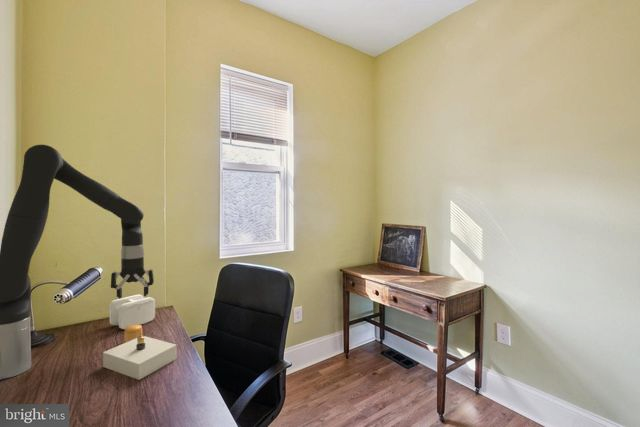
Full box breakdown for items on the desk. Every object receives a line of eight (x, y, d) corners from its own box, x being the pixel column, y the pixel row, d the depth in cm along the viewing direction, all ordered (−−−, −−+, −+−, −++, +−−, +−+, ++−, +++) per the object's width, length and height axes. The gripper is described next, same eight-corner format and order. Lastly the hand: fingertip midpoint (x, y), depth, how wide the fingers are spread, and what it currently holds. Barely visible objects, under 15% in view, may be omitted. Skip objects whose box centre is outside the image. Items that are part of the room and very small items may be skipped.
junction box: (139, 379, 93) (138, 364, 92) (103, 366, 100) (103, 352, 100) (176, 358, 105) (176, 344, 105) (142, 348, 113) (142, 335, 112)
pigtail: (139, 350, 101) (139, 339, 101) (134, 349, 102) (134, 337, 102) (146, 347, 103) (146, 336, 103) (141, 346, 104) (141, 334, 104)
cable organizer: (144, 316, 145) (143, 292, 145) (155, 320, 139) (155, 296, 139) (109, 326, 132) (108, 301, 132) (120, 332, 127) (120, 305, 126)
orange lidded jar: (131, 346, 114) (131, 331, 114) (121, 343, 116) (121, 328, 116) (145, 340, 119) (145, 325, 119) (135, 337, 121) (135, 323, 121)
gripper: (108, 259, 111) (108, 302, 111) (151, 256, 116) (152, 297, 117) (113, 255, 118) (114, 296, 118) (154, 253, 123) (154, 292, 124)
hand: (133, 296), depth 117 cm, fingers open, 8 cm apart
